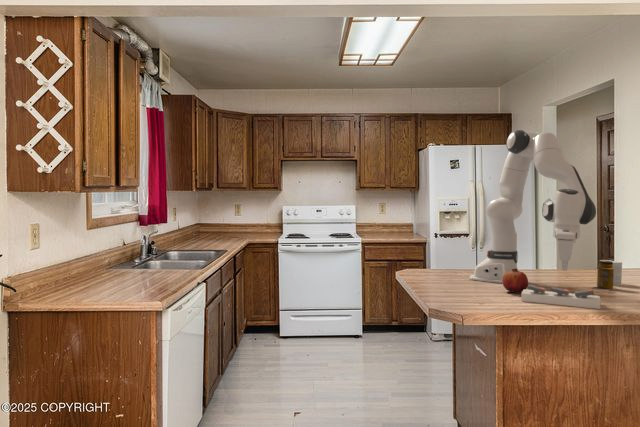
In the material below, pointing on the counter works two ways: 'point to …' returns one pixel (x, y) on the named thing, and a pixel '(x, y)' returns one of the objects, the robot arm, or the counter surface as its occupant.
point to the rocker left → (536, 288)
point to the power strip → (561, 299)
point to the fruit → (515, 281)
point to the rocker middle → (560, 290)
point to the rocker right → (584, 292)
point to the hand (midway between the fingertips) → (564, 270)
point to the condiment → (605, 276)
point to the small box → (616, 272)
